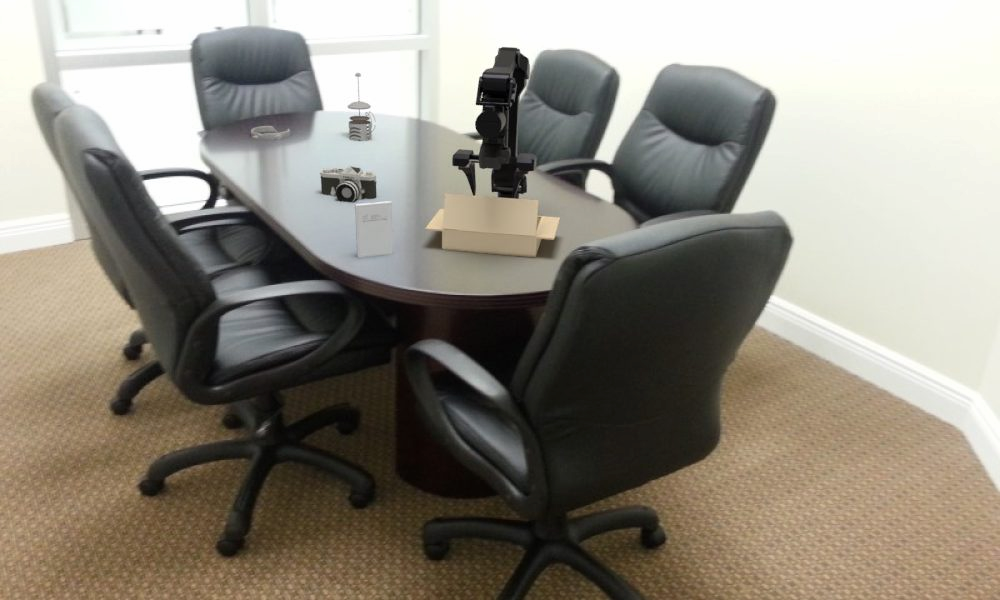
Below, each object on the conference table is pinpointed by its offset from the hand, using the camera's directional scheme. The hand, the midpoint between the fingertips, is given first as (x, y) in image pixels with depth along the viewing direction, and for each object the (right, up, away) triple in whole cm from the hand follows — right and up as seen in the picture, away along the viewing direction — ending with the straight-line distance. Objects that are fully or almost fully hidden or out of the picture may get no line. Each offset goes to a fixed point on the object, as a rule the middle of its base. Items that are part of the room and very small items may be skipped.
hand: (493, 196), depth 188 cm
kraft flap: (-1, -4, -3) cm, 5 cm away
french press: (-47, +30, +99) cm, 114 cm away
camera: (-41, +3, +36) cm, 54 cm away
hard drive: (-27, -14, -3) cm, 31 cm away
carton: (0, -10, +7) cm, 12 cm away
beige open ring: (-80, +31, +98) cm, 130 cm away
